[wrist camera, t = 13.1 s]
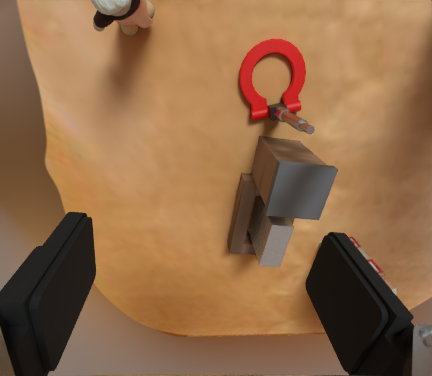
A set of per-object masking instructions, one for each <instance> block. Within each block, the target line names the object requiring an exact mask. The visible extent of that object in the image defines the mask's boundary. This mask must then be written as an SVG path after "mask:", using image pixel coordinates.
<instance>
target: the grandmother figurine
mask: <svg viewBox="0 0 432 376" xmlns="http://www.w3.org/2000/svg"><path fill="white" fill-rule="evenodd" d="M91 1H92V3H93V4H94V6H95V7H96V9H97V12H96V14H95V16H94V22H93V26H94V28H95V29H96V30H97V31H103V30H104V28H105V27H107V26H108V25H110V24H111V23H112V22H113V21H114V20H115V21H117V22H118V23H120V26H121V29H122V31H123V32H124V33H125V34H126V35H129V36H131V35H134V34H136V33H137V31H138V26H139V27H142V28H148V27H149V26H150V25H151V24H152V19H151V18H152V17H153V15H154V7H153V5H152V4H151V2H150V1H148V0H91Z"/></svg>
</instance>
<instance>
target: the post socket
mask: <svg viewBox="0 0 432 376" xmlns="http://www.w3.org/2000/svg"><path fill="white" fill-rule="evenodd" d="M337 171H338V169H337V168H335V167H334V166H328V165H326V164H325V163H324V162H323V161H321V160H320V159H319V158H318V157H317V156H316V155H315V154H313V153H312V152H311V151H310V150H309V149H308V148H307V147H305V146H304V145H303V144H302V143H301V142H300V141H294V140H286V139H278V138H270V137H261V136H259V141H258V145H257V150H256V154H255V159H254V163H253V168H252V172H251V174H243V173H241V178H240V183H239V188H238V193H237V198H236V202H235V207H234V212H233V217H232V222H231V227H230V232H229V237H228V247H229V253H238V254H254V255H256V254H255V250H254V247H253V243H252V240H251V237H250V233H247V229H248V225H249V220H250V216H251V212H252V208H253V204H254V200H255V196H261V197H262V200H263V202H264V204H265V209H264V212H265V215H266V216H277V217H289V219H290V221H291V223H292V224H293V222H294V219H295V218H301V219H313V220H319V218H320V216H321V213H322V210H323V208H324V205H325V203H326V200H327V197H328V195H329V192H330V189H331V187H332V184H333V182H334V179H335V176H336V174H337Z"/></svg>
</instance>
